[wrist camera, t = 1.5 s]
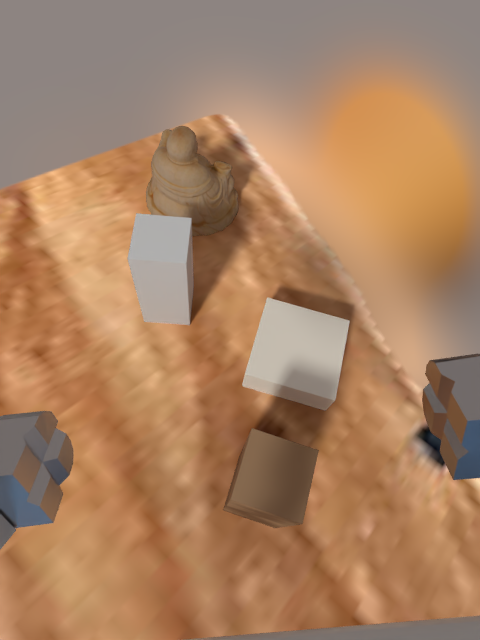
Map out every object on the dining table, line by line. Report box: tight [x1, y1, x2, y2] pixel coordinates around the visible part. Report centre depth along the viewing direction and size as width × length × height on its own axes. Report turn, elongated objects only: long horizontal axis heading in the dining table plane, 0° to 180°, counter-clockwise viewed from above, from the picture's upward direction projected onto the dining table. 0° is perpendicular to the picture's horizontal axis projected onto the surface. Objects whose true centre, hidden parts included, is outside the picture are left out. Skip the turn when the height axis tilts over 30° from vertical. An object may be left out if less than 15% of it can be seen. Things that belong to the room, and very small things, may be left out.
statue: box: [146, 126, 238, 236], centre depth 50 cm, size 12×14×10 cm
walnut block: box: [223, 428, 319, 528], centre depth 35 cm, size 5×5×12 cm
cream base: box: [242, 298, 350, 411], centre depth 45 cm, size 9×9×4 cm
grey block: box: [128, 213, 194, 325], centre depth 44 cm, size 5×5×12 cm
